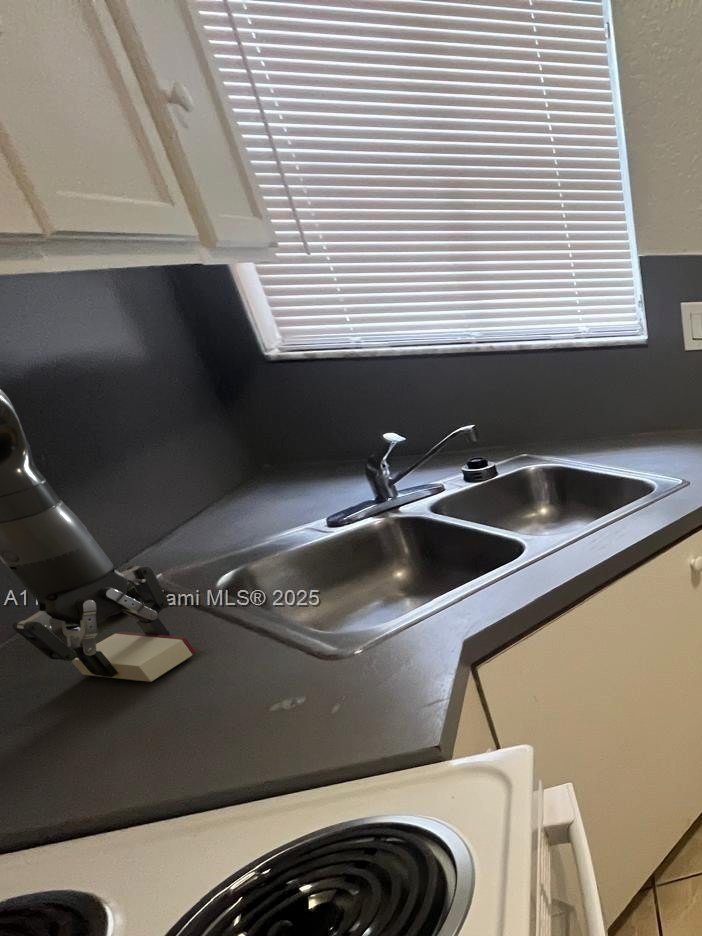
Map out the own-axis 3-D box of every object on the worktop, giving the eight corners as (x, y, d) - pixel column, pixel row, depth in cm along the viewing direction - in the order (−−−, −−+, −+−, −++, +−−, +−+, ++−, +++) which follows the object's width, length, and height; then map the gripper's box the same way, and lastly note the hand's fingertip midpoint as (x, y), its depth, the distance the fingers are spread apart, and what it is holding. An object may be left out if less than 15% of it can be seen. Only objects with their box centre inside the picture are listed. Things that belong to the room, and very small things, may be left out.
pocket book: (82, 674, 81) (68, 659, 80) (131, 646, 86) (119, 631, 85) (151, 682, 79) (138, 666, 78) (196, 652, 84) (185, 637, 83)
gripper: (89, 517, 80) (168, 625, 89) (-57, 576, 68) (51, 693, 77) (137, 520, 78) (212, 628, 88) (-4, 580, 67) (100, 698, 76)
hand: (136, 658), depth 82 cm, fingers closed on pocket book, 6 cm apart
